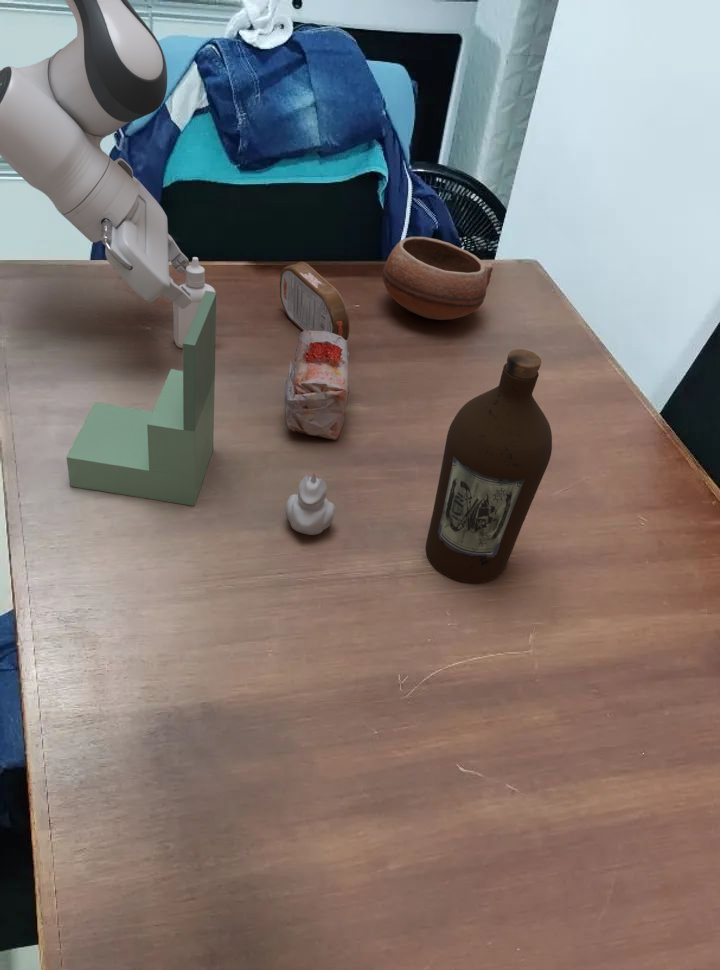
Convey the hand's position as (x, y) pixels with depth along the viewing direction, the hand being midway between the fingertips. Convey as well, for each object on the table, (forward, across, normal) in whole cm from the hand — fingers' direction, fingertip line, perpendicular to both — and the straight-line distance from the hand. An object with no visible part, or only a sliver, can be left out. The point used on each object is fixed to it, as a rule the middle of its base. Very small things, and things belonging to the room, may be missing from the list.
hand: (186, 284), depth 120 cm
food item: (+17, -16, -5) cm, 24 cm away
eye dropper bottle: (+7, -1, +5) cm, 8 cm away
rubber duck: (+14, -38, -3) cm, 41 cm away
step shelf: (+2, -28, +10) cm, 30 cm away
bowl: (+32, +11, -20) cm, 39 cm away
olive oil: (+27, -44, -15) cm, 53 cm away
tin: (+18, +4, -6) cm, 20 cm away
